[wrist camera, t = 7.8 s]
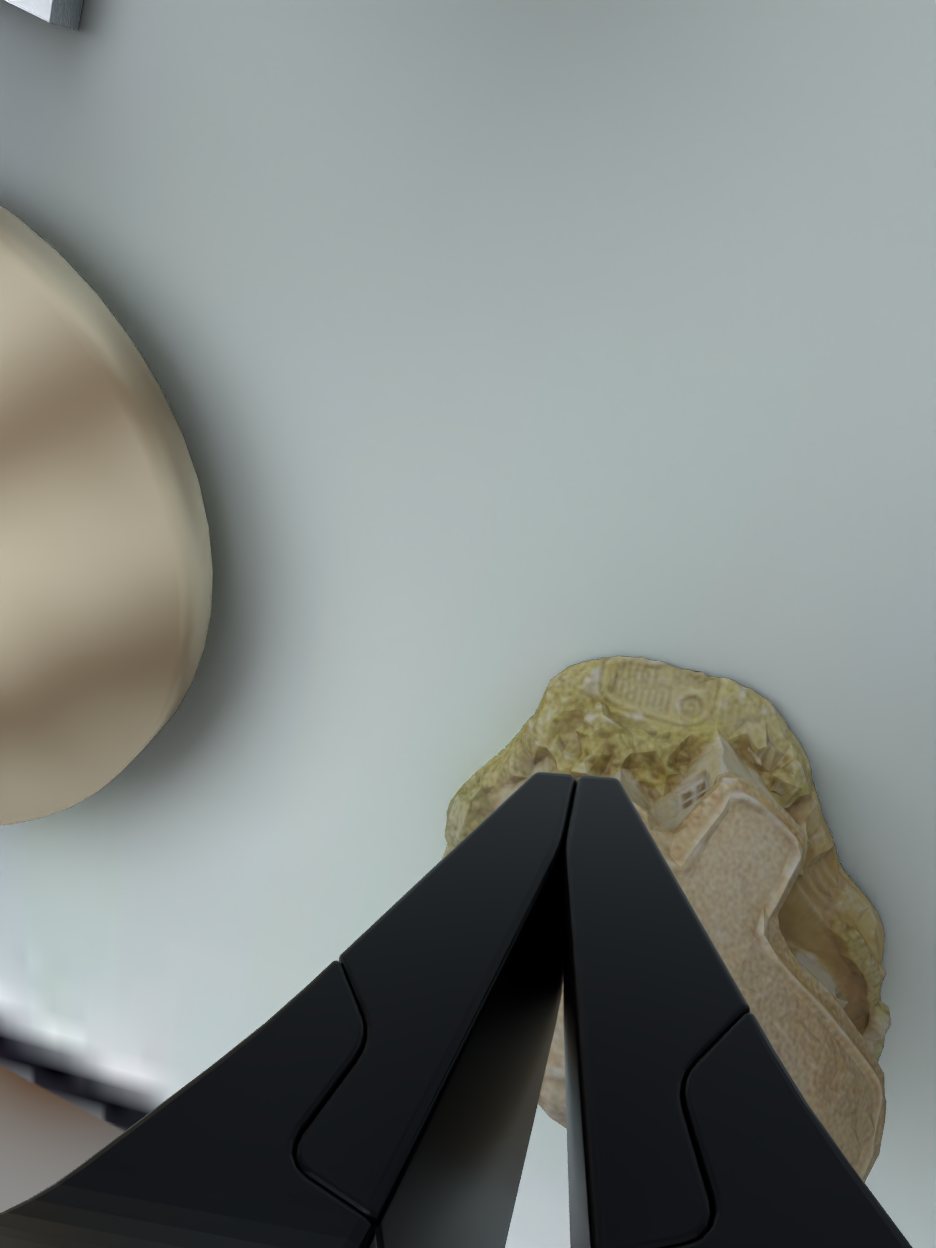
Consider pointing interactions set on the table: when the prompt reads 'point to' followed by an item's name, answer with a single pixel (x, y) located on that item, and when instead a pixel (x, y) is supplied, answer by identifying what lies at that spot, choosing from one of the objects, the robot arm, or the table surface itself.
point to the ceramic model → (725, 865)
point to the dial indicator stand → (53, 10)
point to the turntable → (86, 540)
